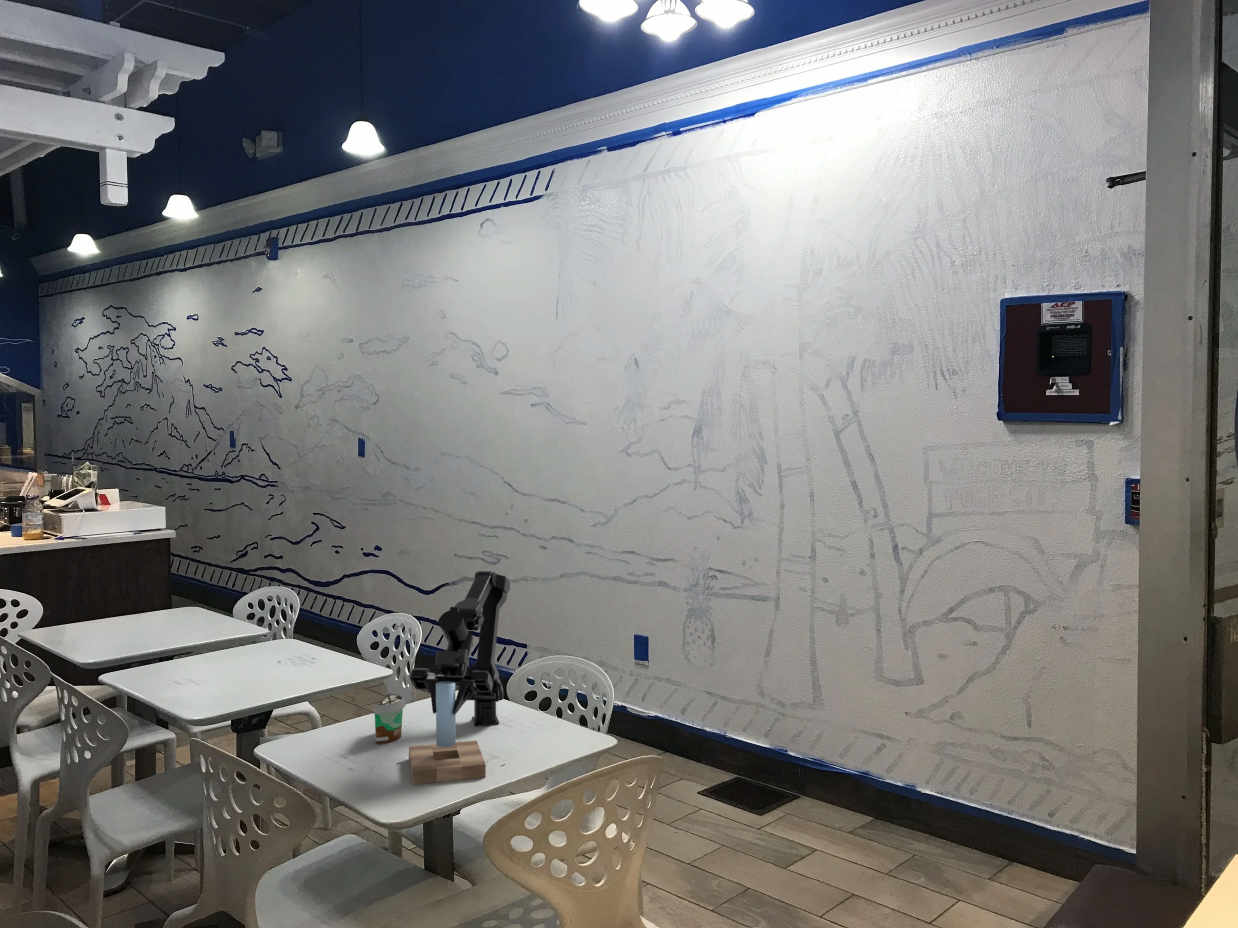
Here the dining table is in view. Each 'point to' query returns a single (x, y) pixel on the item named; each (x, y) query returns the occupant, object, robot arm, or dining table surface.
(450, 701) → the peg
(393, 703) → the food container
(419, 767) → the pocket block
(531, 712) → the dining table surface
